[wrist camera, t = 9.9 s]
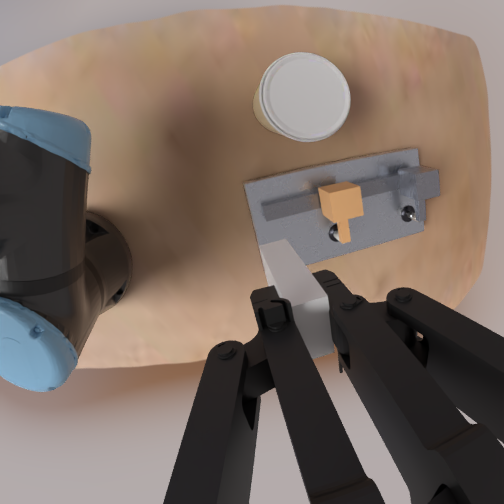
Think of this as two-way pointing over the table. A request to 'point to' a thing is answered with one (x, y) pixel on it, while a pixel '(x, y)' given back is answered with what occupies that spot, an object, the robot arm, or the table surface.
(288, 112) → the coffee cup
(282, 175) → the plate
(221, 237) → the table surface
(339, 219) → the block
